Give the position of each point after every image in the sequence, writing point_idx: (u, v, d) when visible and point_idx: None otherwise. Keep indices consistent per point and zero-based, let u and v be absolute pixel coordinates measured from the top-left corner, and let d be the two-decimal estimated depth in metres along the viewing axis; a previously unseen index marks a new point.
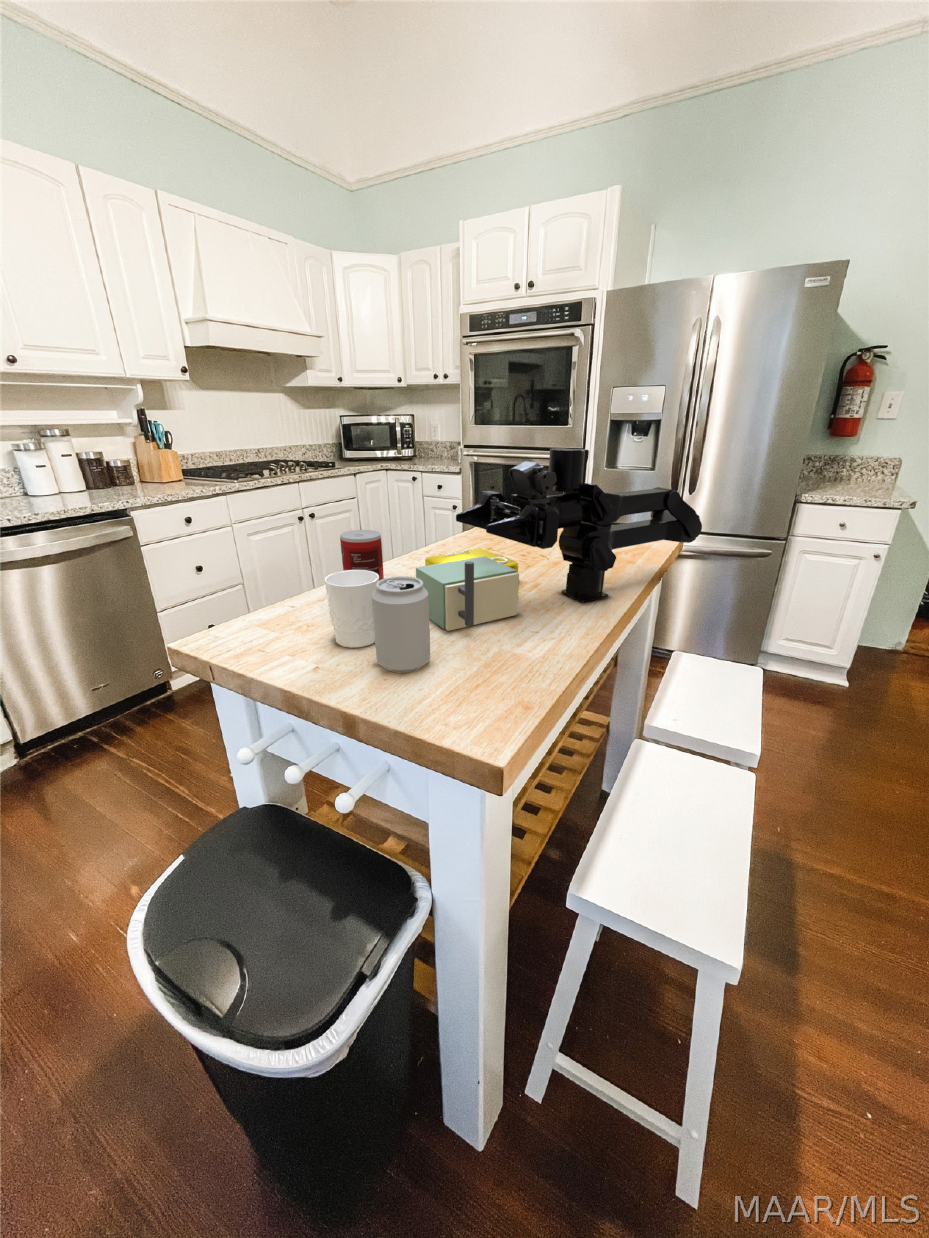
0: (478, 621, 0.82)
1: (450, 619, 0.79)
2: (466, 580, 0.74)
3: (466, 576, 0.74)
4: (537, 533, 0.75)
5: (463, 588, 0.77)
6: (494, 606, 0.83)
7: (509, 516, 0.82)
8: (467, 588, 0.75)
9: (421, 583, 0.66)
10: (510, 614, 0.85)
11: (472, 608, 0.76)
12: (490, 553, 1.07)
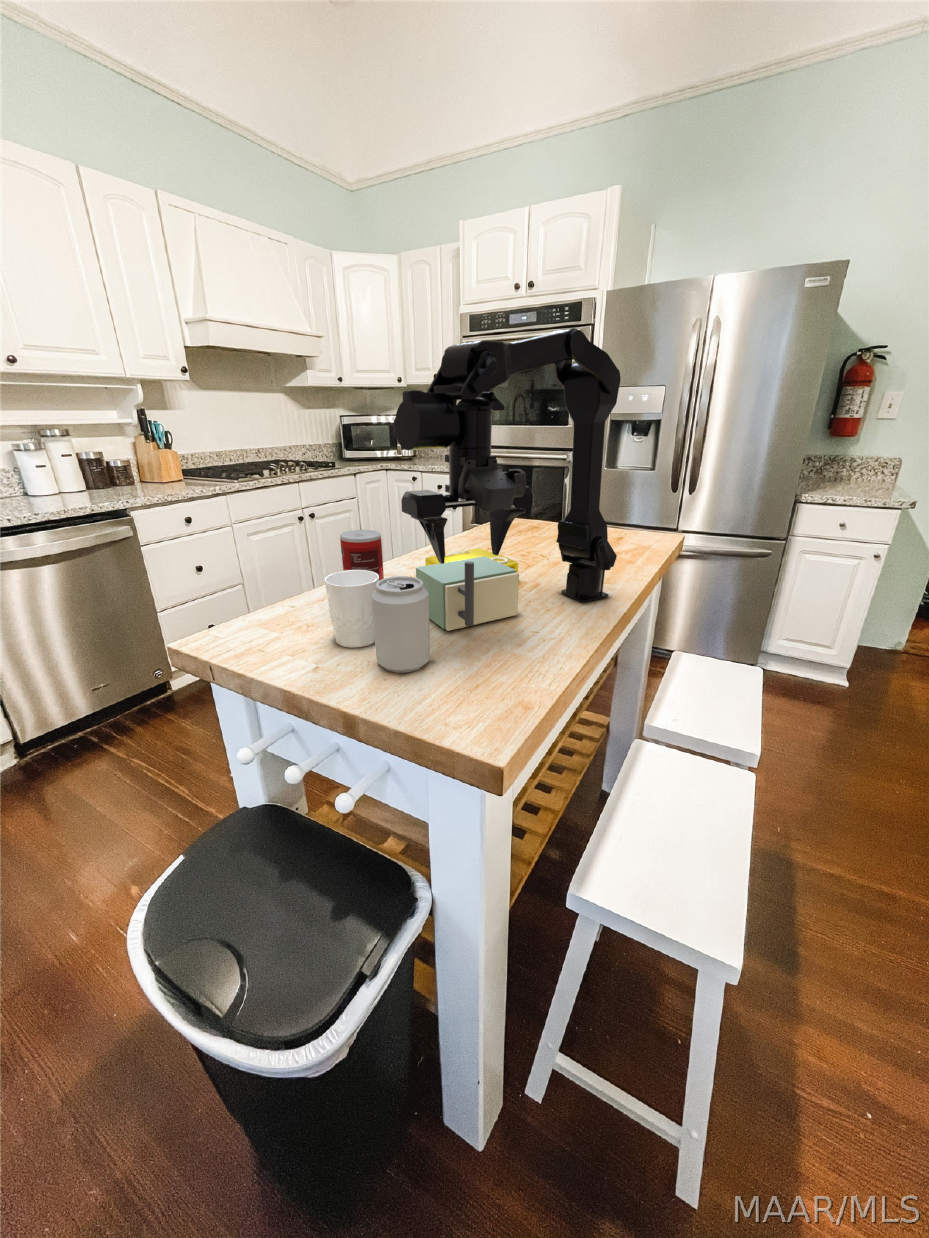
0: (478, 621, 0.82)
1: (450, 619, 0.79)
2: (466, 580, 0.74)
3: (466, 576, 0.74)
4: None
5: (463, 588, 0.77)
6: (494, 606, 0.83)
7: (465, 506, 0.70)
8: (467, 588, 0.75)
9: (421, 583, 0.66)
10: (510, 614, 0.85)
11: (472, 608, 0.76)
12: (490, 553, 1.07)
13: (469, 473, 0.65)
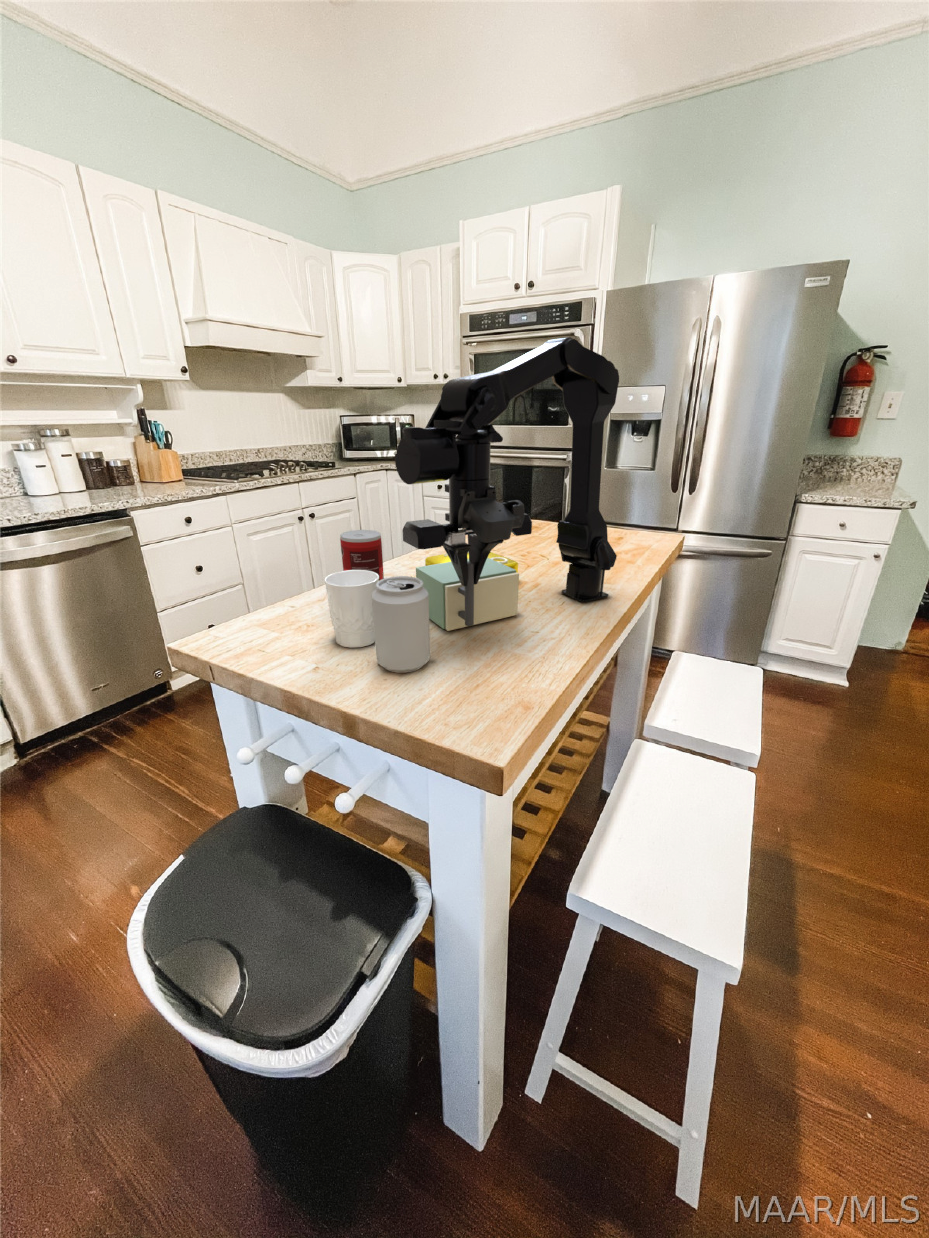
0: (478, 621, 0.82)
1: (450, 619, 0.79)
2: None
3: None
4: None
5: (463, 588, 0.77)
6: (494, 606, 0.83)
7: (465, 534, 0.72)
8: (467, 588, 0.75)
9: (421, 583, 0.66)
10: (510, 614, 0.85)
11: (472, 608, 0.76)
12: (490, 553, 1.07)
13: (468, 504, 0.67)
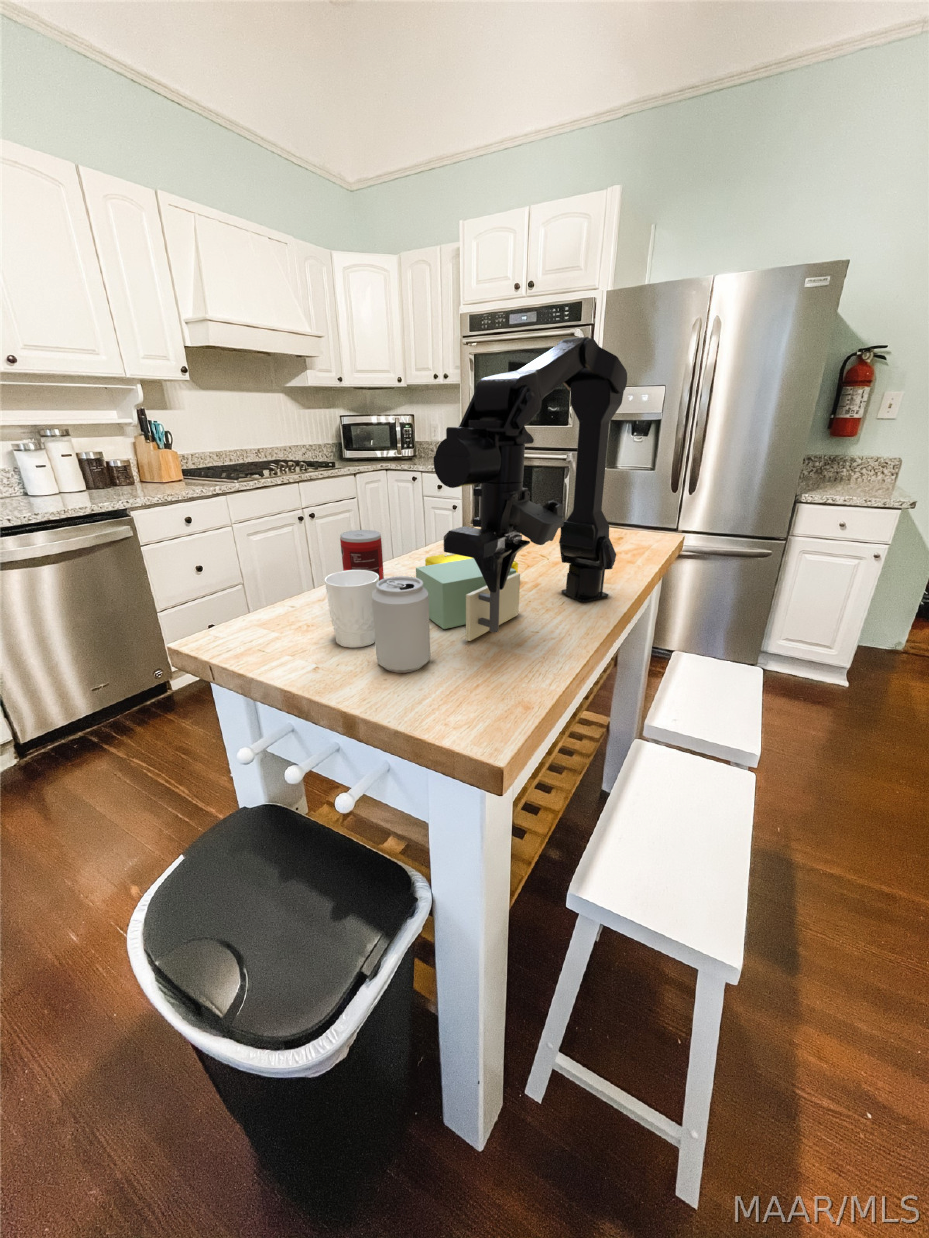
0: None
1: (472, 628, 0.76)
2: None
3: None
4: None
5: (484, 594, 0.74)
6: (503, 609, 0.81)
7: None
8: (494, 594, 0.73)
9: (421, 583, 0.66)
10: (513, 615, 0.85)
11: (498, 614, 0.74)
12: None
13: (515, 508, 0.64)
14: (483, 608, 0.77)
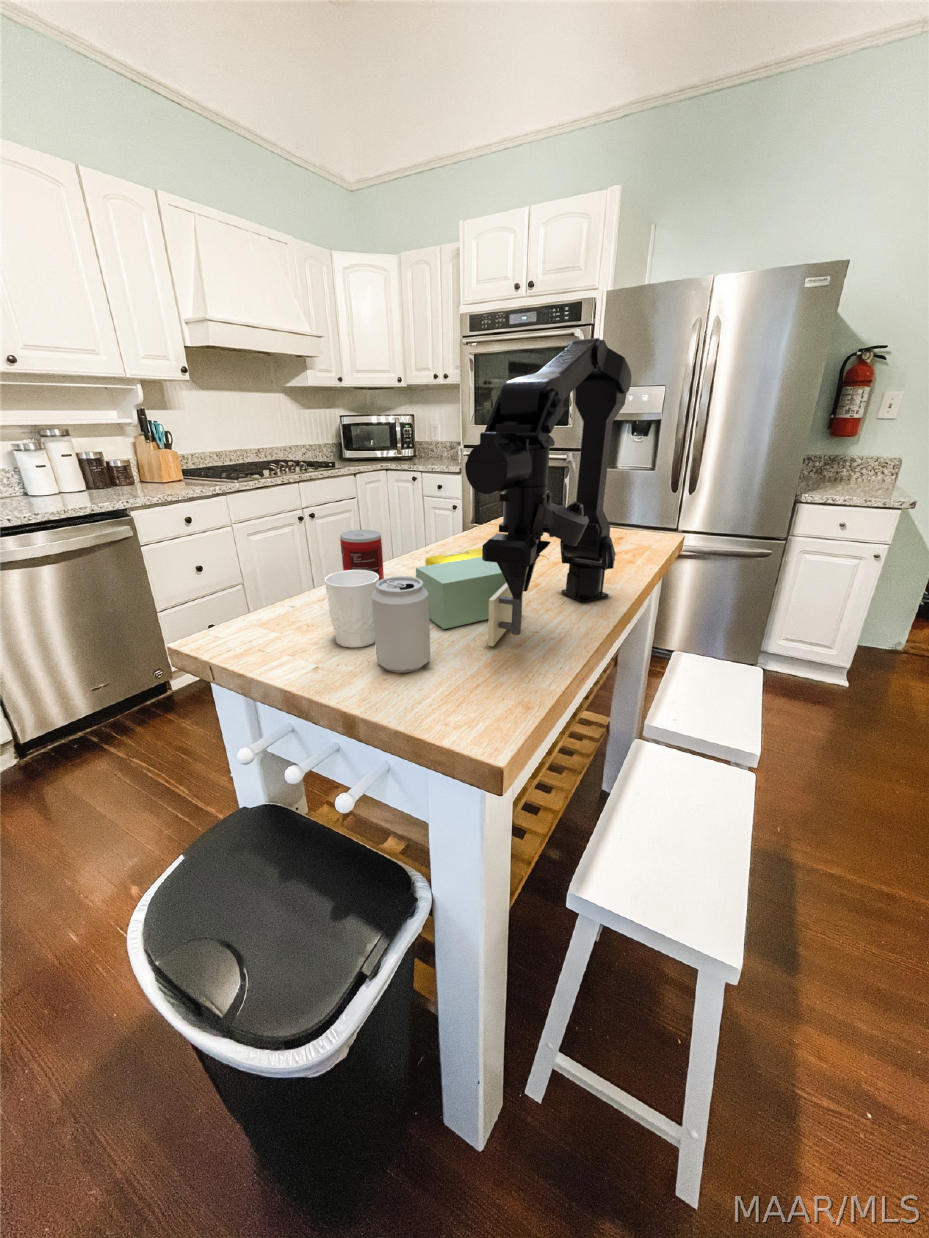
0: (505, 629, 0.79)
1: (494, 633, 0.74)
2: None
3: None
4: None
5: (505, 597, 0.73)
6: (511, 610, 0.81)
7: None
8: None
9: (421, 583, 0.66)
10: None
11: (521, 615, 0.74)
12: None
13: (547, 511, 0.64)
14: (501, 611, 0.76)
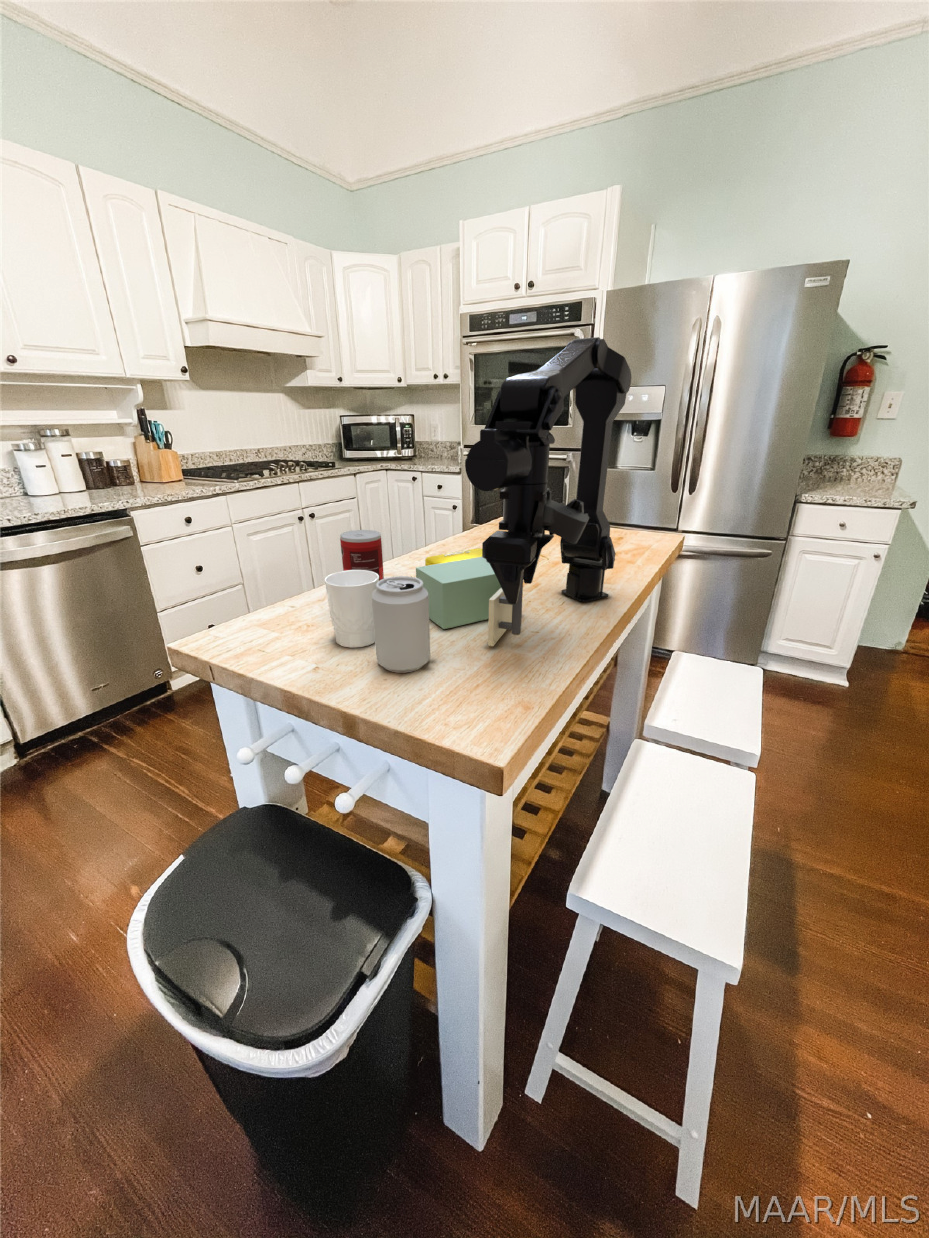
0: (505, 629, 0.79)
1: (494, 633, 0.74)
2: None
3: None
4: None
5: (505, 597, 0.73)
6: (511, 610, 0.81)
7: None
8: (519, 596, 0.72)
9: (421, 583, 0.66)
10: None
11: (521, 615, 0.74)
12: None
13: (547, 508, 0.64)
14: (501, 611, 0.76)
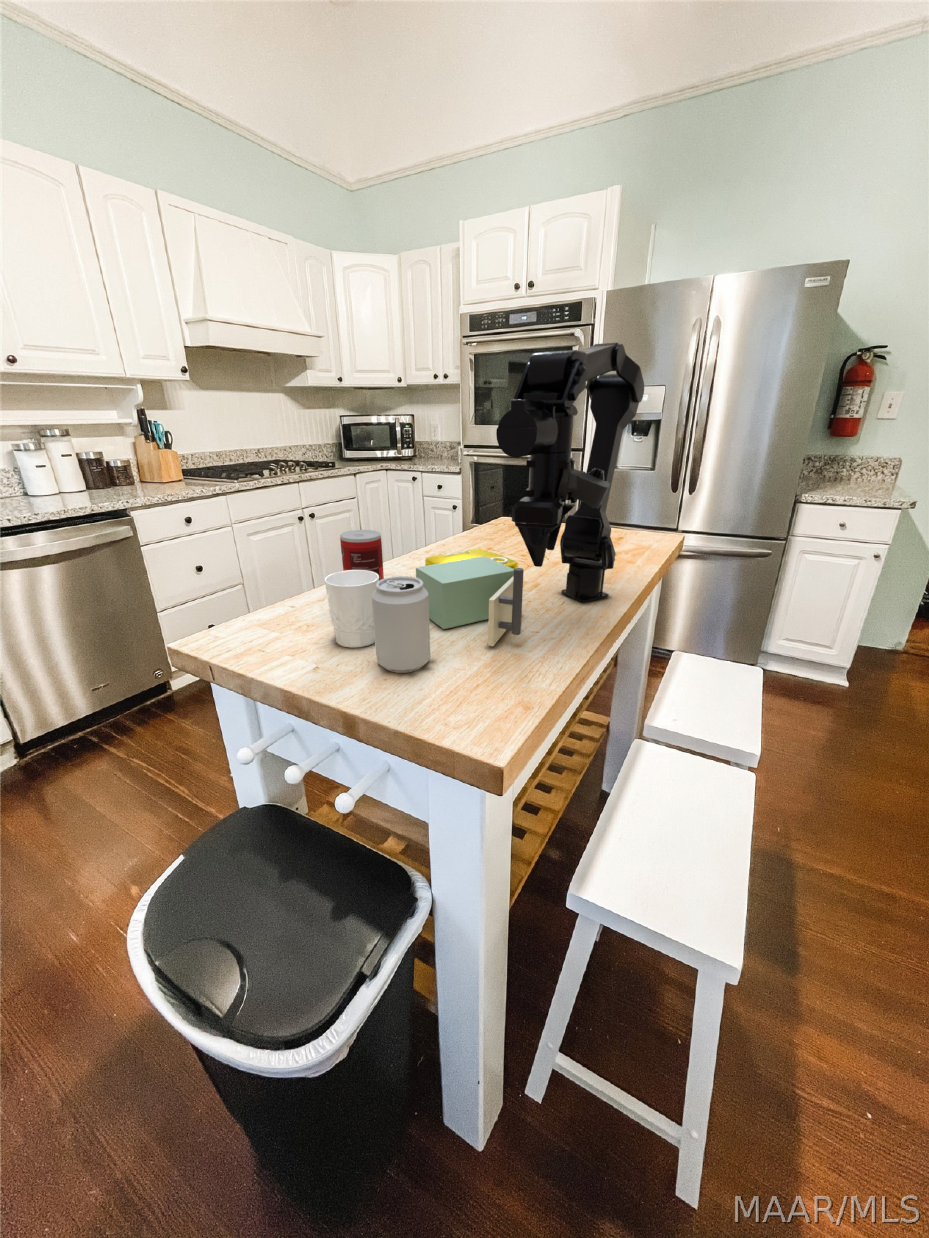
0: (505, 629, 0.79)
1: (494, 633, 0.74)
2: (518, 588, 0.71)
3: (518, 583, 0.71)
4: None
5: (505, 597, 0.73)
6: (511, 610, 0.81)
7: None
8: (519, 596, 0.72)
9: (421, 583, 0.66)
10: None
11: (521, 615, 0.74)
12: (490, 553, 1.07)
13: (571, 475, 0.69)
14: (501, 611, 0.76)
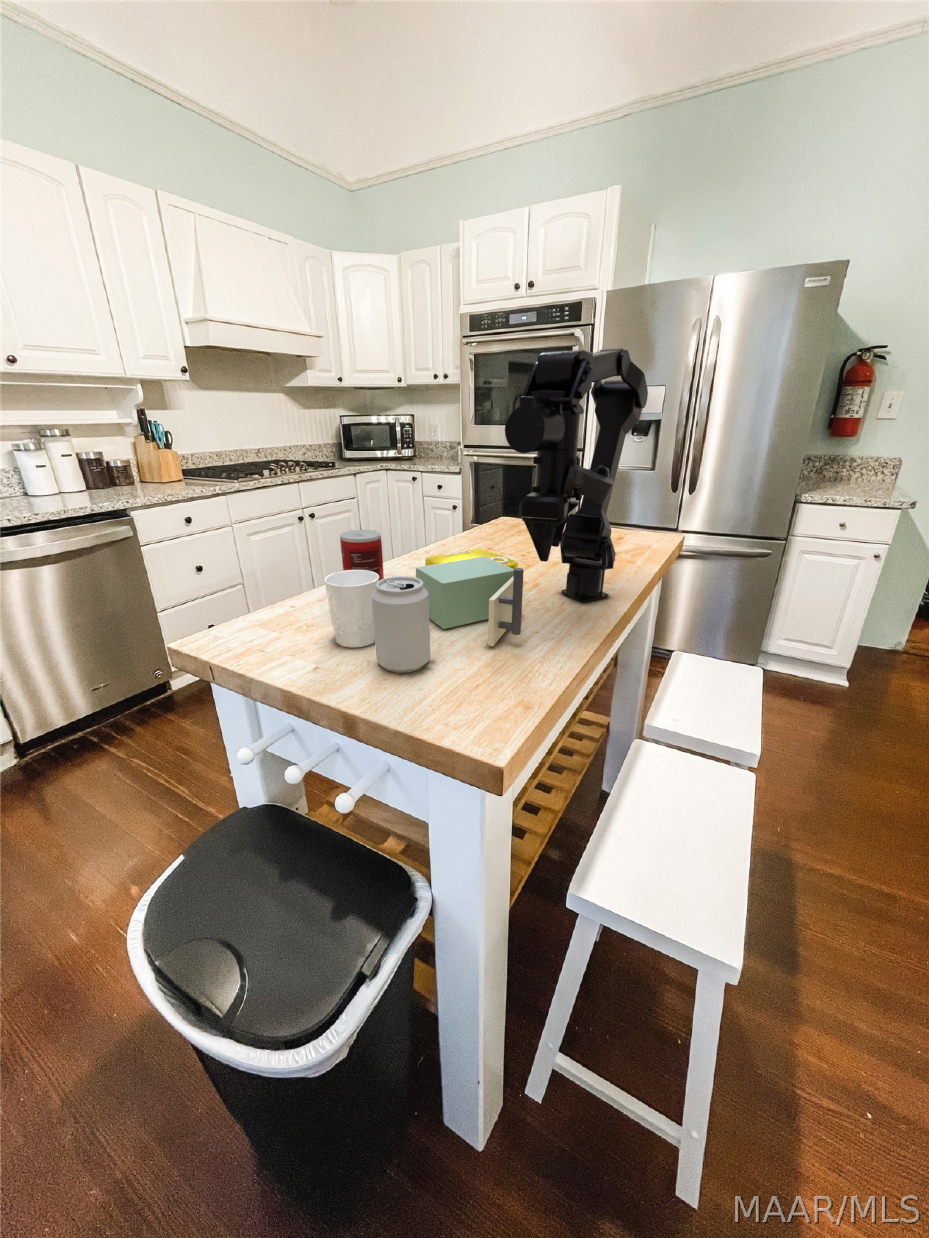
0: (505, 629, 0.79)
1: (494, 633, 0.74)
2: (518, 588, 0.71)
3: (518, 583, 0.71)
4: None
5: (505, 597, 0.73)
6: (511, 610, 0.81)
7: None
8: (519, 596, 0.72)
9: (421, 583, 0.66)
10: None
11: (521, 615, 0.74)
12: (490, 553, 1.07)
13: (577, 472, 0.71)
14: (501, 611, 0.76)
